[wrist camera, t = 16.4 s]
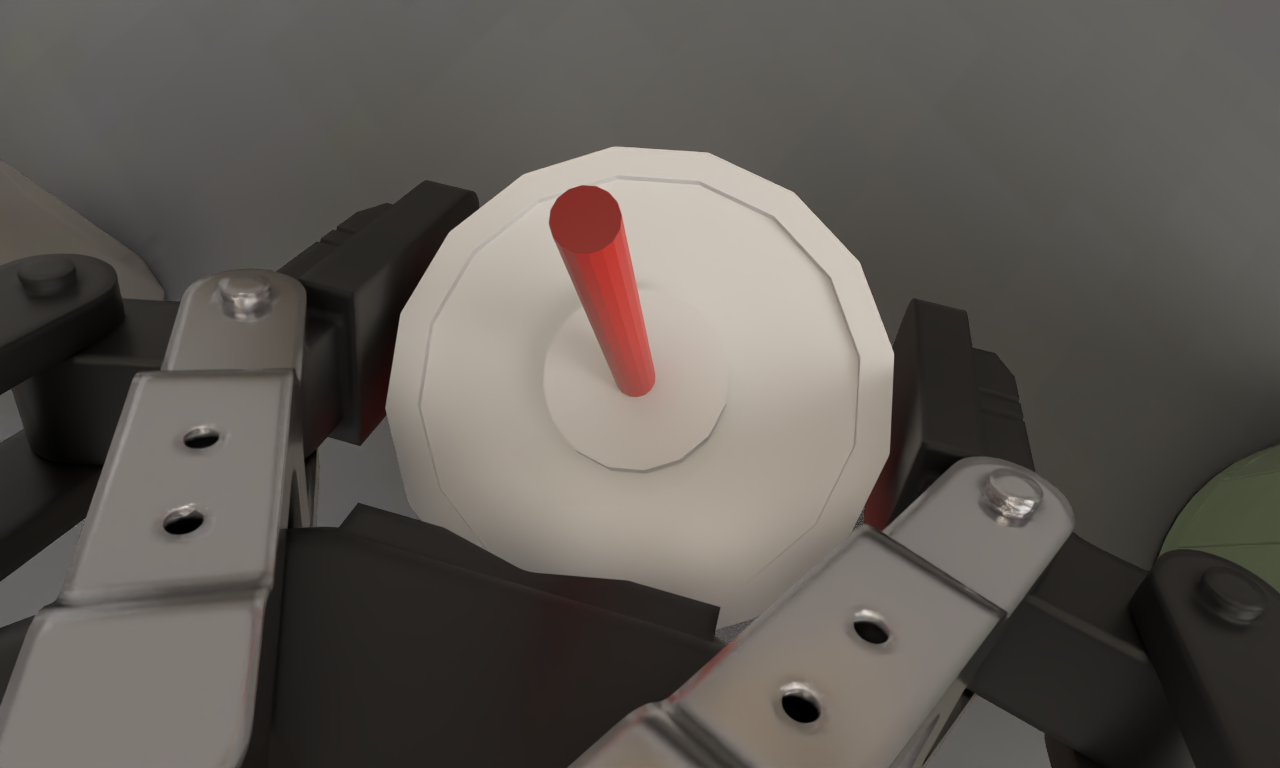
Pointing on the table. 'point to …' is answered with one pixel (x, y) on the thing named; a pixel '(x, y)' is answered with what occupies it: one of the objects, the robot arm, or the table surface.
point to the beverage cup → (645, 379)
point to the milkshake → (63, 234)
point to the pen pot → (1237, 517)
